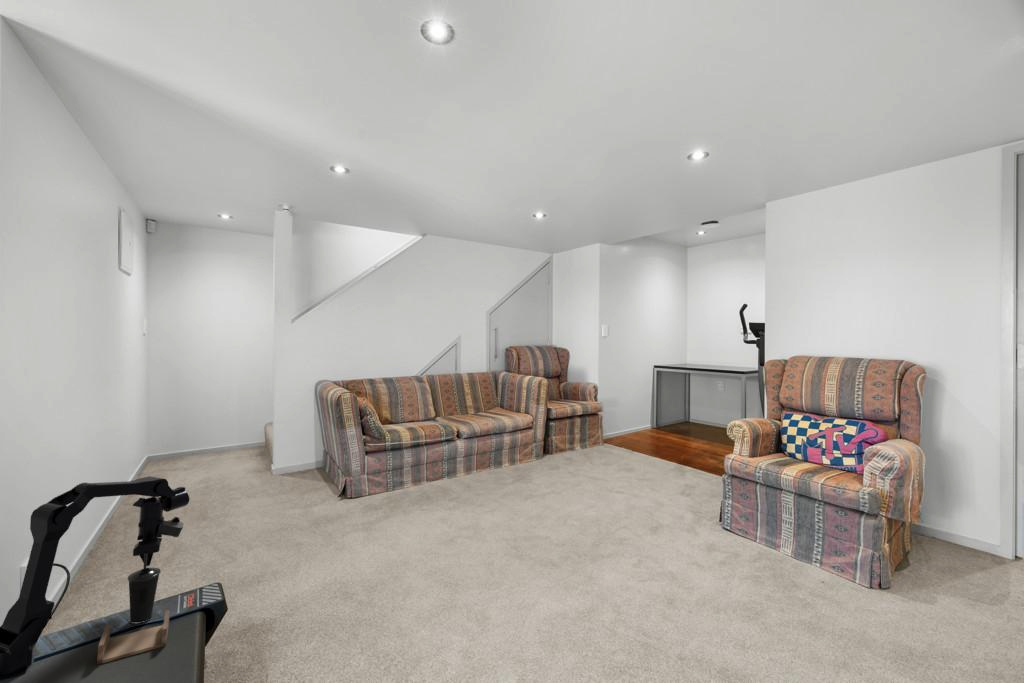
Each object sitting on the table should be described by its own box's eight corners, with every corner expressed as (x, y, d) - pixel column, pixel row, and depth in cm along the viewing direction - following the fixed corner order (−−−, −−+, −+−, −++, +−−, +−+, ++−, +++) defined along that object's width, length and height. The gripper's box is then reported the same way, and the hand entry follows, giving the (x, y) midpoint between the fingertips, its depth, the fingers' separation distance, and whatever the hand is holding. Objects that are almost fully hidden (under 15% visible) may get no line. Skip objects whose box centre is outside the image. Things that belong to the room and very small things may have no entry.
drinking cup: (164, 613, 134) (168, 548, 134) (140, 628, 126) (145, 559, 127) (141, 610, 135) (146, 546, 135) (117, 625, 127) (122, 557, 128)
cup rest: (96, 664, 112) (98, 645, 112) (104, 642, 120) (105, 625, 120) (165, 645, 120) (167, 628, 120) (168, 626, 128) (169, 609, 128)
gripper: (181, 522, 136) (177, 571, 136) (183, 503, 151) (180, 548, 151) (134, 528, 130) (130, 581, 129) (142, 509, 145) (139, 555, 145)
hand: (147, 565), depth 139 cm, fingers closed
